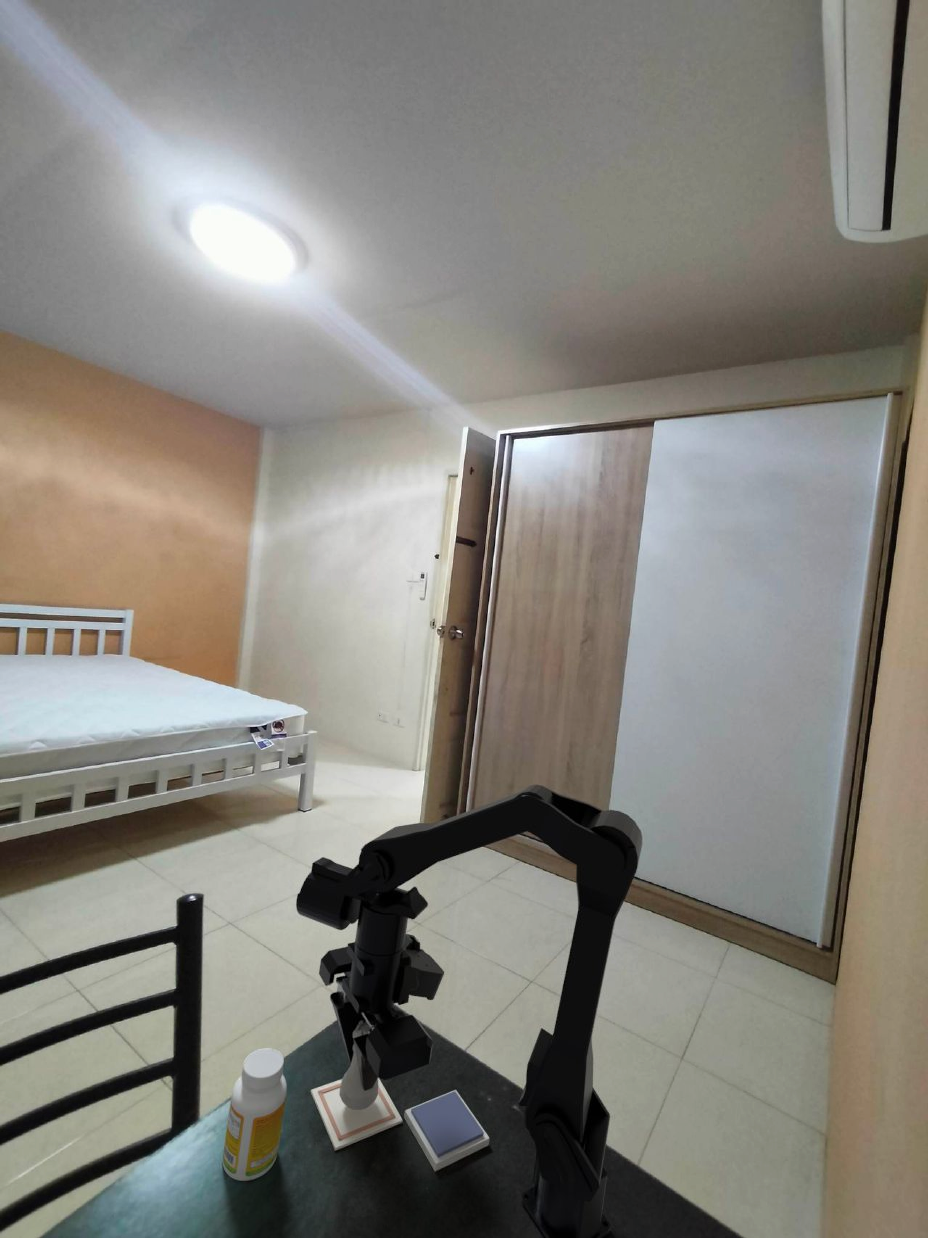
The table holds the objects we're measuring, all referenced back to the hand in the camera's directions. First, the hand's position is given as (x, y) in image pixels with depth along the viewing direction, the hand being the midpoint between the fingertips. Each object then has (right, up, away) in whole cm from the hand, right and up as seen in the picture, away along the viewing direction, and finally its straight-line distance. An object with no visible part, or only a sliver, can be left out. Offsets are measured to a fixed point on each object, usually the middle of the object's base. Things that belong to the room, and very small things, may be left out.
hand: (361, 1076), depth 65 cm
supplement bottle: (-10, -2, -7) cm, 13 cm away
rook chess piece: (0, -2, 0) cm, 2 cm away
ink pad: (+10, -5, -1) cm, 11 cm away
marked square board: (-1, -4, 0) cm, 4 cm away
